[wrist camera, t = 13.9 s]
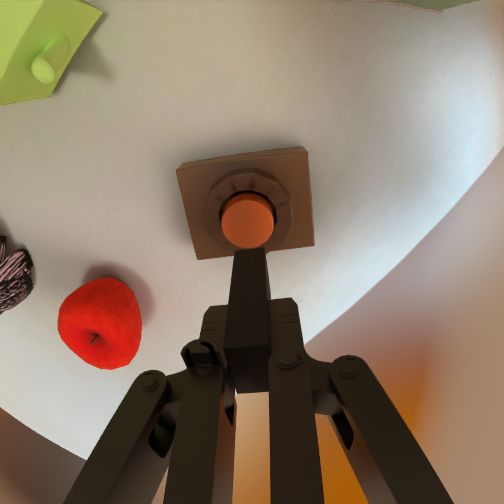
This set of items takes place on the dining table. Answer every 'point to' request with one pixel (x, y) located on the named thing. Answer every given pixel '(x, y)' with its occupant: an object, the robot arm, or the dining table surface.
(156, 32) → the dining table surface
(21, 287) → the decorative flower
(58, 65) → the teapot
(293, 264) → the dining table surface
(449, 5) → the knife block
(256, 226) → the button
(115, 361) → the apple
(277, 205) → the brown button base
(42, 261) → the dining table surface
